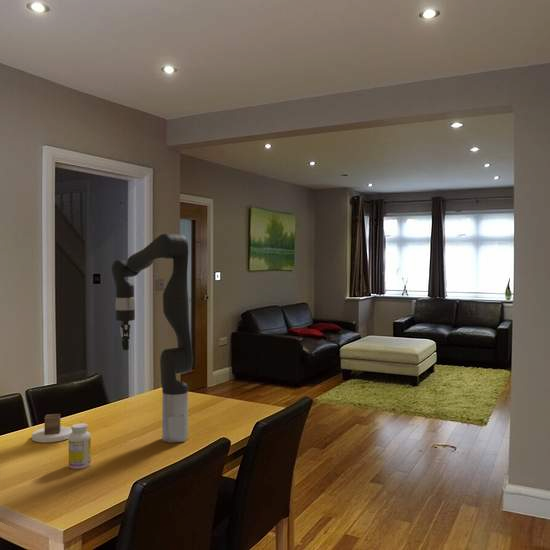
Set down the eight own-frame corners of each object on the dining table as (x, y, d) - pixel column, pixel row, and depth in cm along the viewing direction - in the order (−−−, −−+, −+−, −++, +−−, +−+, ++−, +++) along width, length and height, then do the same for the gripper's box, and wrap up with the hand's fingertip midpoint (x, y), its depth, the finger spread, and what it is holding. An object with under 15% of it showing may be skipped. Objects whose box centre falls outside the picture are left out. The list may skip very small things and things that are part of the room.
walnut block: (59, 433, 195) (59, 417, 195) (44, 434, 193) (44, 418, 193) (60, 429, 200) (60, 413, 200) (45, 430, 198) (45, 414, 198)
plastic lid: (72, 431, 206) (72, 424, 206) (73, 442, 193) (73, 435, 193) (33, 435, 201) (33, 428, 201) (30, 447, 188) (30, 439, 188)
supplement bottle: (83, 460, 174) (83, 421, 174) (95, 465, 170) (95, 425, 170) (64, 466, 169) (64, 425, 169) (75, 471, 165) (75, 429, 164)
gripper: (135, 309, 212) (135, 350, 213) (133, 307, 226) (133, 345, 226) (116, 310, 210) (116, 351, 210) (115, 307, 224) (115, 346, 224)
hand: (125, 348), depth 218 cm, fingers open, 8 cm apart
